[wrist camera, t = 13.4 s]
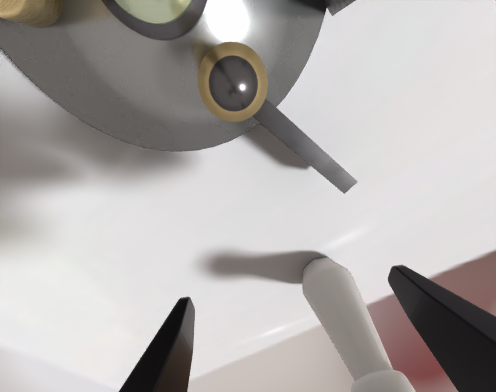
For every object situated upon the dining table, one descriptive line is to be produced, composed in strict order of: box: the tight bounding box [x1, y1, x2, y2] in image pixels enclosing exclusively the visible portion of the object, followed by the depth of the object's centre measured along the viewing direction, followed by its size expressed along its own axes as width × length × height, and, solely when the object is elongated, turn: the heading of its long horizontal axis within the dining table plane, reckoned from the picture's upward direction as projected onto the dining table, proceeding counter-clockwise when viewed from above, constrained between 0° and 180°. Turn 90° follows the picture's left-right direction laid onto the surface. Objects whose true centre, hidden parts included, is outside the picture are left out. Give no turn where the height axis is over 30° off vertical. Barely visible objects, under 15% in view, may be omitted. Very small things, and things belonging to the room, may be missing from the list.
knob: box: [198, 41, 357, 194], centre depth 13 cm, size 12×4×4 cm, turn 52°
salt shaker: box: [303, 257, 415, 392], centre depth 19 cm, size 6×6×13 cm
